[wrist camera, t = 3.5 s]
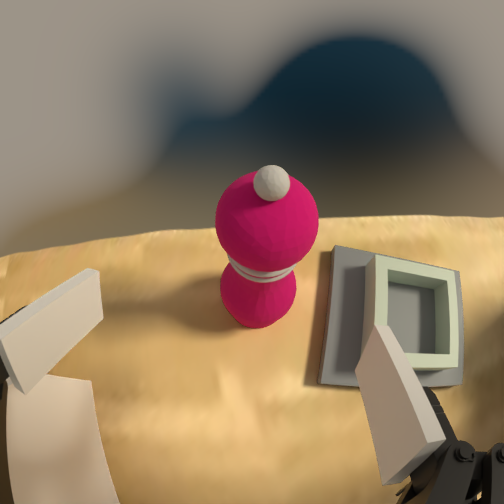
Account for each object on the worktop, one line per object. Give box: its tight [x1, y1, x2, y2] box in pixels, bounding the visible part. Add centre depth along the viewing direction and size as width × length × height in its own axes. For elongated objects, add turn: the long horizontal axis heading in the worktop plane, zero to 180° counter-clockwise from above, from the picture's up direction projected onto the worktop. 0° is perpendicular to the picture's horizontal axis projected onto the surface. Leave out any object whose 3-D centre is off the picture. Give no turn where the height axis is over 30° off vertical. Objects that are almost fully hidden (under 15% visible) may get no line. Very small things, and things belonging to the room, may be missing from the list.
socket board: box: [317, 245, 464, 387], centre depth 27 cm, size 20×16×4 cm
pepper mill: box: [215, 165, 318, 328], centre depth 21 cm, size 7×7×20 cm
